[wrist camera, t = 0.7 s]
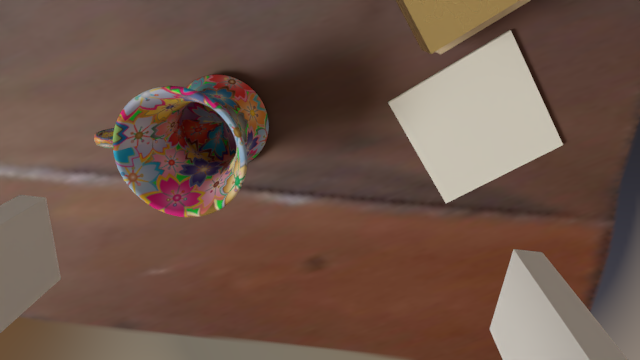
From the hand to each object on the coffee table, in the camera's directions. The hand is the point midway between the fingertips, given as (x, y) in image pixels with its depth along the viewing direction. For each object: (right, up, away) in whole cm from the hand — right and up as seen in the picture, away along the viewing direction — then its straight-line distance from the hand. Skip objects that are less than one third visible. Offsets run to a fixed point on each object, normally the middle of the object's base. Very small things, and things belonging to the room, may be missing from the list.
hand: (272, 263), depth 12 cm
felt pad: (+15, +7, +24) cm, 29 cm away
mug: (-9, +8, +26) cm, 29 cm away
